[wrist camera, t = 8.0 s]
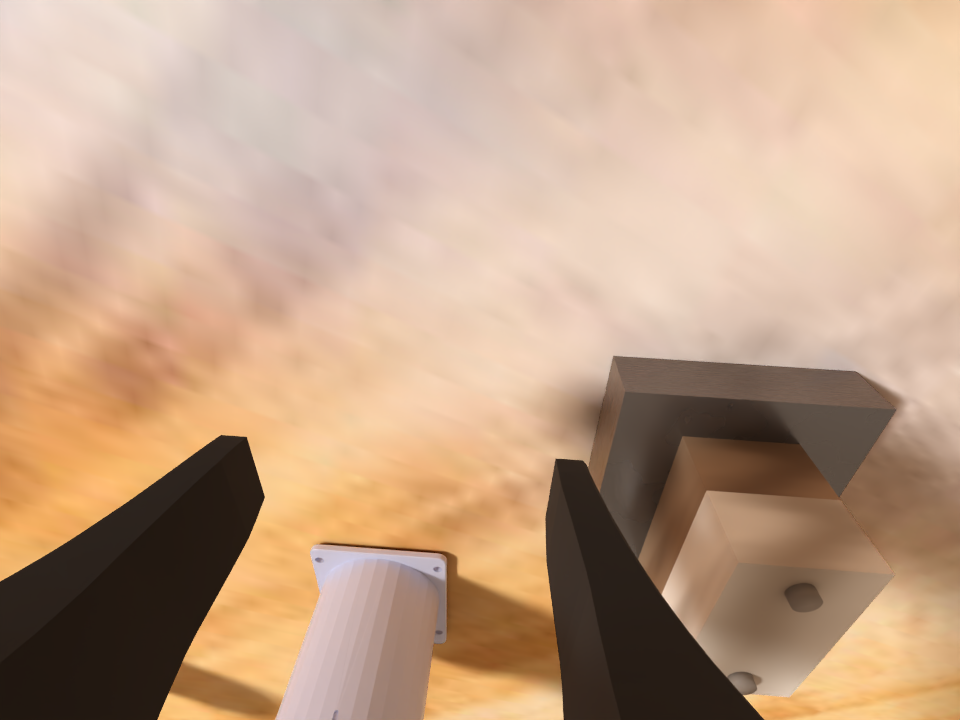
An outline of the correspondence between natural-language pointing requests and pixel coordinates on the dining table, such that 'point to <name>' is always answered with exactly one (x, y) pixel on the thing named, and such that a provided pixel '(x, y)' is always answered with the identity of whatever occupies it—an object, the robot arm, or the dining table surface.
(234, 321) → the dining table surface
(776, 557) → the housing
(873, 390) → the stand
